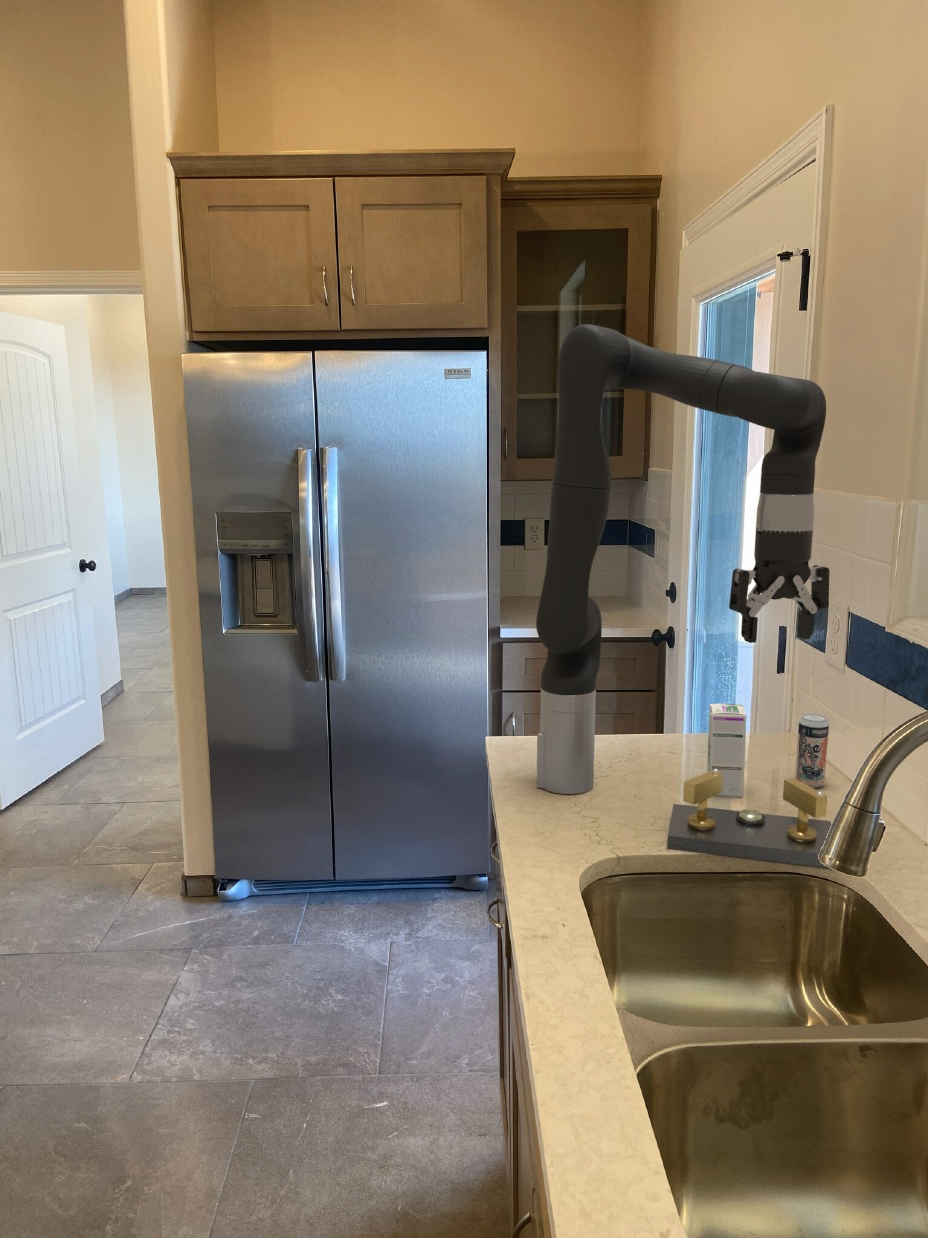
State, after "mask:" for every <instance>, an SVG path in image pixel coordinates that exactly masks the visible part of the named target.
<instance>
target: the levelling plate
mask: <svg viewBox="0 0 928 1238" xmlns="http://www.w3.org/2000/svg"><path fill="white" fill-rule="evenodd" d="M691 814H697V805H689V804H679V803H673V805H672V810H671V817H670V822H669V827H668V832H667V842H666V849H669V850H675V851H676V850H678V851H687V852H691V853H692V852H695V853H702V854H710V855H717V856H725V857H733V858H742V859H750V860H758V861H764V862H765V861H767V862H775V863H782V864H791V865H798V866H806V867H807V866H808V867H815V868H822V869H829V868H828V867H826V866H824V865H823V864H821V863H820V861H819V859H818V854H819V852H820V849H821V847H822V846H823V844H824V841H825V840H826V836H827V833H828V831H829V829H830V826H831V825H832V822H831V820H824V819H817V818H808V826H809V827H812V828H814V829H815V830H816V831H817V838H816V840H815V841H813V842H799V841H795V840H793V839H791V838H789V837H788V836H787V828H788V826H790V825H797V821H798V816H797V817H796V816H788V815H778V814H769V813H761V812H759V811H757V810H754V809H742V810H732V809H725V808H724V809H723V808H715V807H707V815H710V816H712V817H714V818H715V820H716V821H715V828H714V829H711V830H697V829H693V828H691V827H690V826H688V824H687V822H688V816H689V815H691Z"/></svg>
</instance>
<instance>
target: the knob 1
mask: <svg viewBox="0 0 928 1238" xmlns="http://www.w3.org/2000/svg"><path fill="white" fill-rule="evenodd" d="M722 778H723V773H720V772H719V770H718V769H713V770H712V771H709V772H707V771H706V772H705V773H702V774H699V775H697V776H694V777H691V778H690V779H688V780H687V779H686V780H685V781H683V800H682V802H685V803H687V804H690V805H692V806H695V805H696V806H697V814H691V815H689V816H688V822H687V824H688V826H690V827H691V828H693V829H697V830H711V829H714V828H715V821H716V820H715V818H714V817H712V816H710V815H707V808H708V799H711V798H712V797H716V796H715V795H717V794H720V793H722Z"/></svg>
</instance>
